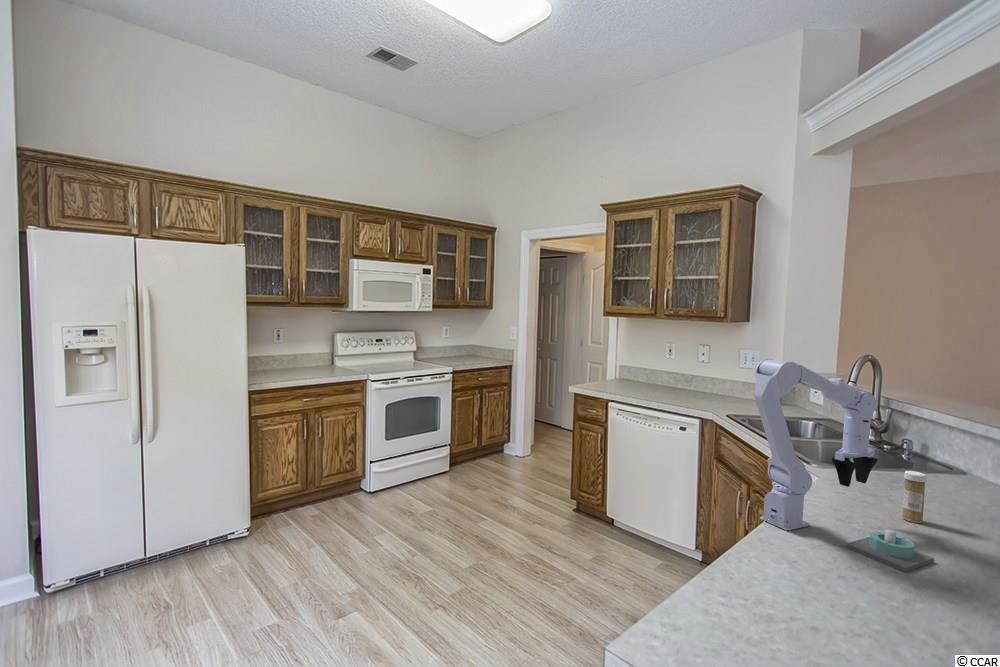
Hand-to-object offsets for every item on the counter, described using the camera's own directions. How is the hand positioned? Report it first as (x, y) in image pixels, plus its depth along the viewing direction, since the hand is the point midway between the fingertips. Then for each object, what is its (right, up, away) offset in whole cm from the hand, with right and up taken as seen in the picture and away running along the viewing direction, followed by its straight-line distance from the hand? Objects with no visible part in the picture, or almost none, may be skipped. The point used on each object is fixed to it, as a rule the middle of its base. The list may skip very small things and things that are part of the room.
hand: (852, 483), depth 132 cm
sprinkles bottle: (+18, -11, +3) cm, 22 cm away
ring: (-4, -10, -18) cm, 21 cm away
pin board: (-5, -11, -18) cm, 22 cm away
